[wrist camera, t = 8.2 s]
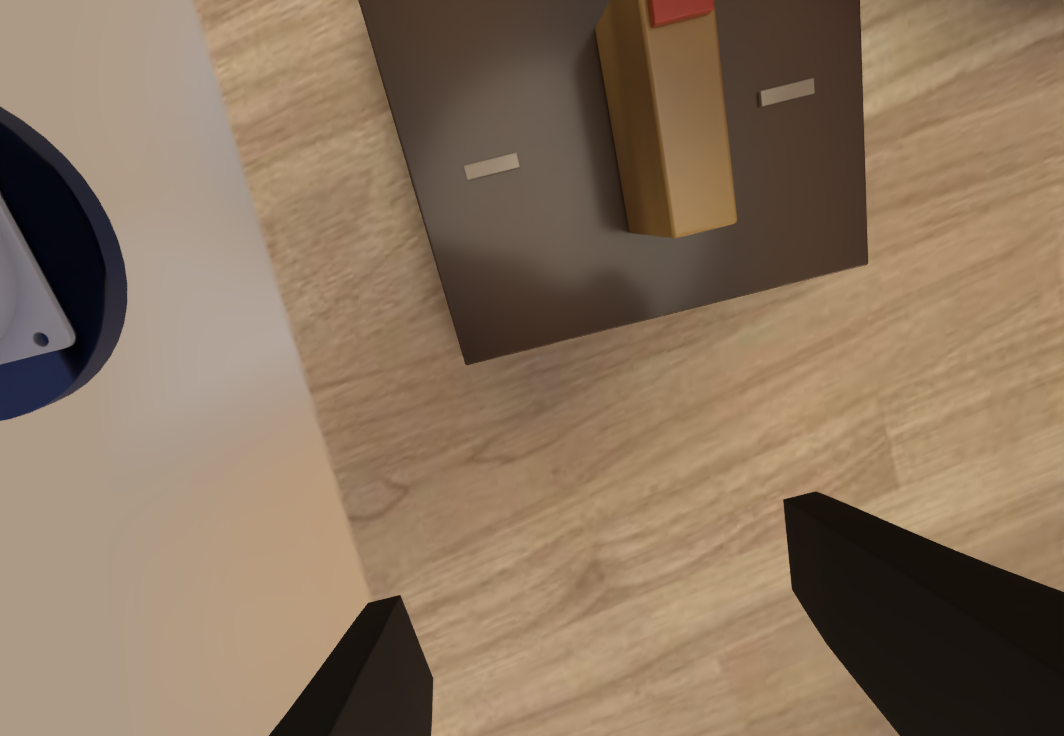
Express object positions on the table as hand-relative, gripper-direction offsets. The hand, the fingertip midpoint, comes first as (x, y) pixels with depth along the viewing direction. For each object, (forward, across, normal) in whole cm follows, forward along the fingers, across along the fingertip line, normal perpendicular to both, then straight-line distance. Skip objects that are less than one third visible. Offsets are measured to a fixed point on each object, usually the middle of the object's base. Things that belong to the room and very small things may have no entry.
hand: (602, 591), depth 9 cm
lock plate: (+9, -4, -8) cm, 13 cm away
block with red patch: (+6, -4, -8) cm, 11 cm away
